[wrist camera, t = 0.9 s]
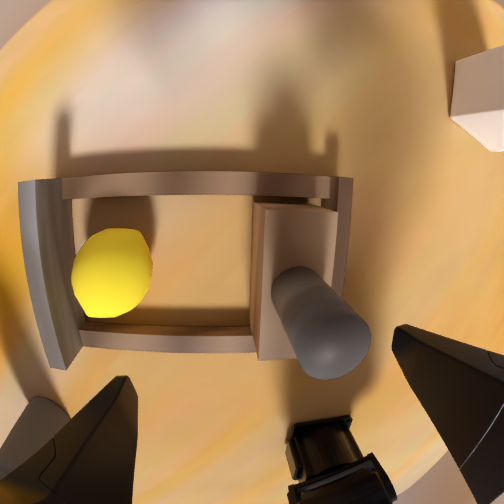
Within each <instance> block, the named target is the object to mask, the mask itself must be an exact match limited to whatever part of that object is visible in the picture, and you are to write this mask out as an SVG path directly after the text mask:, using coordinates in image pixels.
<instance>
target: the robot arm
mask: <svg viewBox="0 0 504 504" xmlns="http://www.w3.org/2000/svg"><path fill="white" fill-rule="evenodd" d="M392 351H393V354H394V355H395V357H396V359H397V361H398V363H399V365H400V367H401V369H402V371H403V374H404V376H405V378H406V380H407V381H408V383H409V385H410V387H411V388H412V390H413V392H414V393H415V395H416V396H417V398H418V400H419V401H420V403H421V404H422V406H423V408H424V409H425V411H426V412H427V414H428V416H429V417H430V419H431V421H432V422H433V424H434V426H435V427H436V429H437V431H438V432H439V434H440V436H441V438H442V439H443V441H444V443H445V444H446V446H447V448H448V450H449V451H450V453H451V455H452V457H453V458H454V460H455V462H456V463H457V466H458V467H459V468H460V471H461V473H462V474H463V477H464V479H465V481H466V483H467V484H468V486H469V488H470V490H471V492H472V494H473V495H474V498H475V500H476V502H477V504H490V503H492V502H493V501H494V500H495V499H496V498H498V497H499V496H500V495H501V494H502V493H503V492H504V355H501V354H498V353H494V352H491V351H488V350H487V351H486V350H485V349H481V348H478V347H475V346H472V345H469V344H466V343H463V342H459V341H456V340H453V339H450V338H447V337H444V336H441V335H438V334H435V333H432V332H429V331H426V330H423V329H420V328H417V327H414V326H411V325H408V324H403V325H400V326H397V327H396V328H395V330H394V335H393V341H392ZM351 422H352V417H351V416H350V415H348V416H342V417H337V418H331V419H325V420H319V421H312V422H305V423H298V424H295V425H294V426H293V429H292V434H291V439H289V440H288V442H287V448H286V457H287V461H288V464H289V468H290V472H291V475H292V479H293V480H298V481H299V483H298V484H295V485H294V484H292V485H289V486H288V489H289V492H288V494H287V497H288V500H289V504H392V502H394V501H396V500H397V495H396V492H395V489H394V487H393V485H392V483H391V481H390V479H389V477H388V475H387V474H386V472H385V471H384V469H383V468H382V466H381V465H380V463H379V462H378V460H377V459H376V457H375V456H374V454H373V453H372V452H371V453H369V454H367V456H365V457H363V455H362V453H361V451H360V449H359V447H358V445H357V443H356V441H355V439H354V437H353V435H352V433H351V432H350V430H349V428H350V425H351ZM137 439H138V396H137V393H136V390H135V388H134V386H133V384H132V382H131V380H130V378H129V377H128V376H126V375H125V376H116V377H115V378H113V379H112V380H111V381H110V382H109V383H108V384H107V385H106V386H105V387H104V388H103V389H102V390H101V391H100V392H99V393H98V394H97V395H96V396H95V397H94V398H93V399H91V400H90V401H89V402H88V403H87V404H86V405H85V406H84V407H83V408H82V409H81V410H80V411H79V412H78V413H77V414H76V415H75V416H74V417H73V418H72V419H71V420H69V421H68V422H67V423H66V424H65V425H64V426H63V427H62V428H61V429H60V430H59V431H58V432H57V433H56V434H55V435H54V436H53V437H52V438H51V439H50V440H49V441H47V442H46V443H45V444H44V445H43V446H42V447H41V448H40V449H39V450H38V451H37V452H35V453H34V454H33V455H32V456H31V457H29V458H28V459H27V460H26V461H24V462H23V463H22V464H20V465H19V466H18V467H17V468H15V469H14V470H13V471H11V472H10V473H9V474H7V475H6V476H5V477H3V478H2V479H0V504H132V495H133V481H134V469H135V458H136V449H137Z"/></svg>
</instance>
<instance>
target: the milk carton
mask: <svg viewBox="0 0 504 504" xmlns="http://www.w3.org/2000/svg"><path fill="white" fill-rule="evenodd" d="M450 118H451V119H452V120H453V121H454V122H456V123H457V124H458V125H459V126H461V127H462V128H463V129H464V130H466V131H467V132H468V133H469V134H471V135H472V136H473V137H474V138H475V139H476V140H478V141H479V142H480V143H481V144H482V145H483V146H484V147H486V148H487V149H488V150H489V151H495V152H504V46H500V47H497V48H494V49H490V50H487V51H484V52H481V53H478V54H475V55H472V56H469V57H466V58H463V59H460V60H457V61H456V64H455V77H454V88H453V97H452V105H451V113H450Z"/></svg>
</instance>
